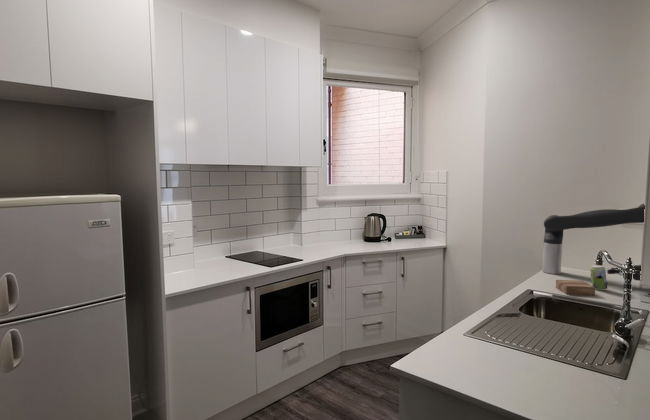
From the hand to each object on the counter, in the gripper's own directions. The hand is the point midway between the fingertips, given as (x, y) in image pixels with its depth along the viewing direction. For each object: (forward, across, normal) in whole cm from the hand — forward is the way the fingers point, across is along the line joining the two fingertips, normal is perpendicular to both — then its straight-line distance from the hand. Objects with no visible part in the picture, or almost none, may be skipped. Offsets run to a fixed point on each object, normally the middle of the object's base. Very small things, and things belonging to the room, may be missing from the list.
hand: (615, 273), depth 189 cm
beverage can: (+10, 0, +8) cm, 12 cm away
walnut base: (+24, +1, +8) cm, 25 cm away
